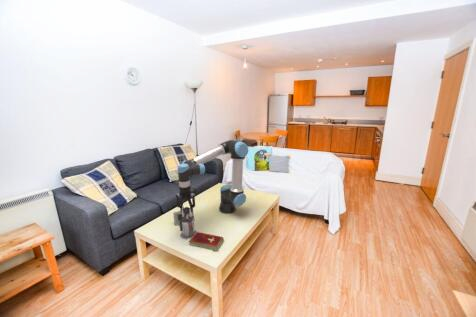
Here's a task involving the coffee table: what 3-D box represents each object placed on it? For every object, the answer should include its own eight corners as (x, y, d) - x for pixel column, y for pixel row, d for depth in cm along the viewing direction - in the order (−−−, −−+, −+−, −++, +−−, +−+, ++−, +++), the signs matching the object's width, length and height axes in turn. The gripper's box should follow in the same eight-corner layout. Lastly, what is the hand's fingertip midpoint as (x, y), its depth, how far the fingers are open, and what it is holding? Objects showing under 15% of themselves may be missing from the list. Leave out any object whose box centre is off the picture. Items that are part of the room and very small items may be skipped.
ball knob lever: (192, 229, 164) (190, 205, 159) (190, 233, 159) (189, 209, 154) (186, 229, 164) (184, 205, 159) (184, 233, 159) (182, 208, 154)
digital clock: (173, 226, 174) (172, 214, 171) (174, 220, 182) (173, 209, 179) (194, 224, 177) (193, 212, 174) (194, 218, 185) (193, 207, 182)
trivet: (198, 230, 168) (198, 229, 168) (194, 240, 156) (194, 239, 156) (183, 230, 169) (183, 229, 168) (178, 239, 157) (178, 238, 157)
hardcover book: (197, 236, 162) (196, 231, 161) (223, 241, 155) (223, 236, 154) (188, 246, 151) (188, 241, 150) (216, 252, 144) (216, 246, 143)
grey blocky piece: (195, 230, 166) (194, 215, 163) (192, 237, 158) (191, 221, 155) (182, 230, 167) (181, 215, 163) (179, 237, 159) (177, 221, 155)
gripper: (198, 183, 156) (200, 213, 162) (173, 183, 157) (176, 213, 163) (196, 188, 148) (198, 218, 154) (170, 187, 149) (173, 218, 155)
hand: (187, 215), depth 158 cm, fingers closed on ball knob lever, 5 cm apart
